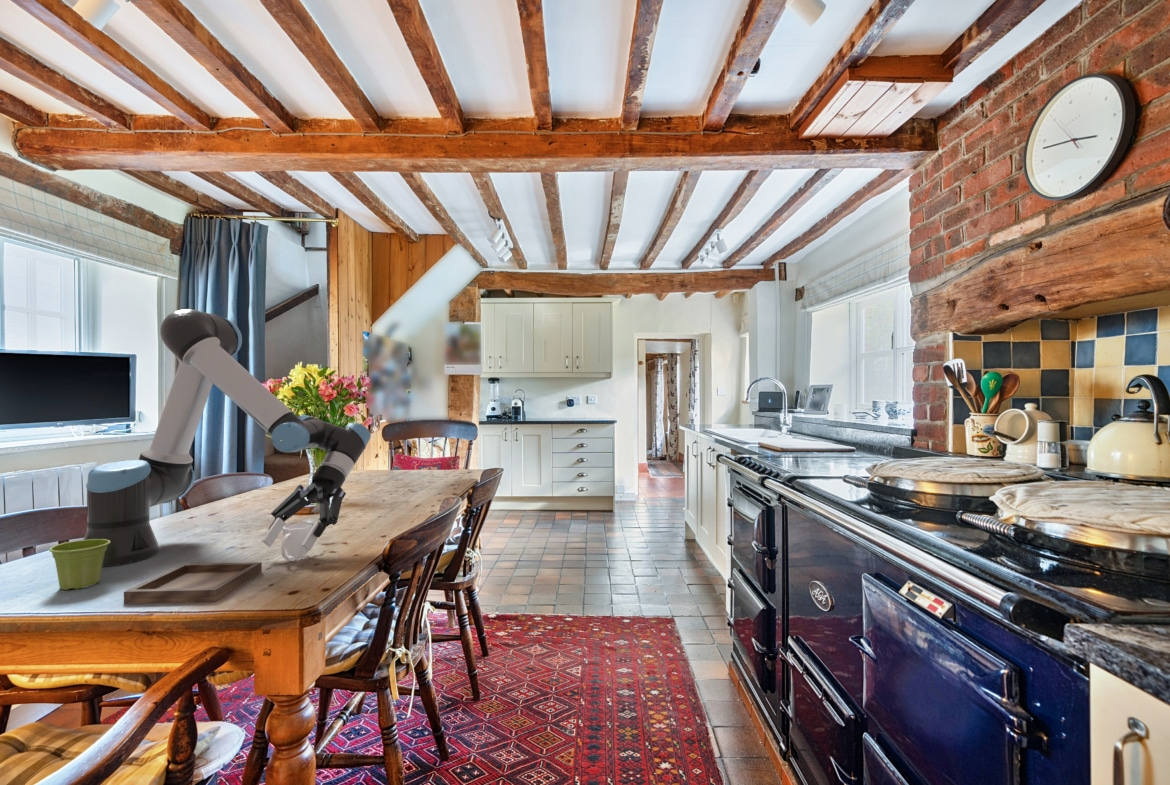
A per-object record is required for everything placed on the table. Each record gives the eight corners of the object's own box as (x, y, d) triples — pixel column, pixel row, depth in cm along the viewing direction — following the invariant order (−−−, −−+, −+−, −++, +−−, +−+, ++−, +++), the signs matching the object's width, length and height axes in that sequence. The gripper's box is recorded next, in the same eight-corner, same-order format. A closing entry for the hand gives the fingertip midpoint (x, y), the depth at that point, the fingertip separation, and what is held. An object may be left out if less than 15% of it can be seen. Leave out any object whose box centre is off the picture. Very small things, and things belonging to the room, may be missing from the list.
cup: (319, 553, 135) (319, 522, 135) (297, 566, 125) (297, 532, 125) (292, 553, 136) (292, 522, 136) (268, 566, 125) (268, 532, 126)
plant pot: (95, 575, 119) (95, 536, 119) (119, 581, 115) (119, 541, 115) (39, 589, 110) (39, 547, 110) (64, 596, 106) (64, 553, 107)
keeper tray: (123, 603, 103) (123, 591, 103) (183, 573, 120) (183, 563, 120) (215, 601, 104) (215, 589, 104) (261, 572, 121) (261, 562, 121)
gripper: (376, 483, 142) (334, 557, 127) (304, 478, 148) (256, 549, 134) (363, 465, 137) (317, 541, 122) (289, 462, 143) (237, 533, 128)
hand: (285, 545), depth 128 cm, fingers open, 11 cm apart
